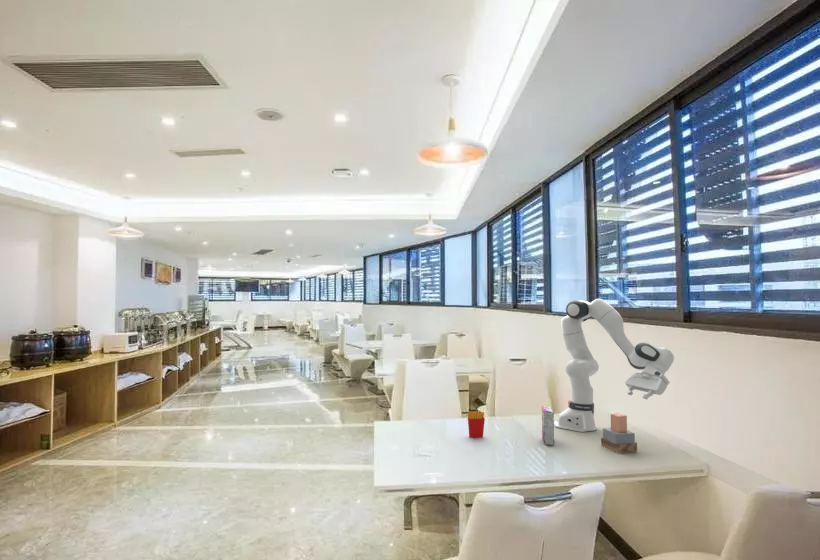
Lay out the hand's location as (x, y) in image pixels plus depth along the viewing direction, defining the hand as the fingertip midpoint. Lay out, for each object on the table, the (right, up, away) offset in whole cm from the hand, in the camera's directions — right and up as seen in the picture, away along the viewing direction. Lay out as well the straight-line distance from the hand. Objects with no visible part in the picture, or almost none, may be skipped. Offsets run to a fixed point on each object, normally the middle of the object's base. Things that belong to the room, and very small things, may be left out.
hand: (636, 396), depth 217 cm
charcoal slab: (-11, -20, -5) cm, 23 cm away
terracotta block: (-11, -15, -5) cm, 20 cm away
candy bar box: (-43, -24, +4) cm, 49 cm away
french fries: (-78, -24, +11) cm, 82 cm away
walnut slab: (-11, -24, -5) cm, 27 cm away
